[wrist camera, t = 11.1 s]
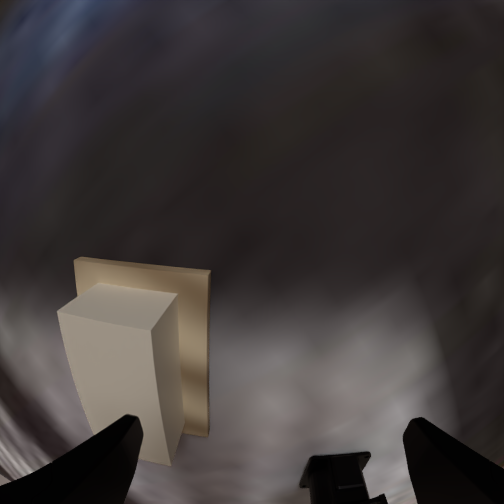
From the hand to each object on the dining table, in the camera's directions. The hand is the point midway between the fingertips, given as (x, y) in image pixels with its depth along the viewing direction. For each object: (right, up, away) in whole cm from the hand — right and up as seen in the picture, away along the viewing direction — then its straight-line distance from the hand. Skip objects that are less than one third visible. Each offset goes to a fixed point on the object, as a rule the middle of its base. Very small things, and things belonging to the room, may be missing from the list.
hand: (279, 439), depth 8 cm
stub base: (-9, -2, +13) cm, 16 cm away
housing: (-9, -2, +12) cm, 15 cm away
